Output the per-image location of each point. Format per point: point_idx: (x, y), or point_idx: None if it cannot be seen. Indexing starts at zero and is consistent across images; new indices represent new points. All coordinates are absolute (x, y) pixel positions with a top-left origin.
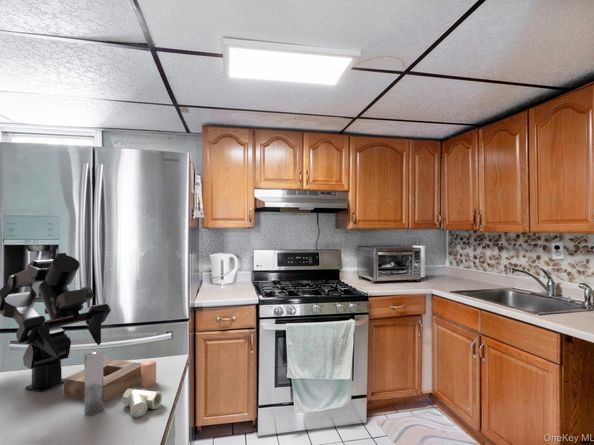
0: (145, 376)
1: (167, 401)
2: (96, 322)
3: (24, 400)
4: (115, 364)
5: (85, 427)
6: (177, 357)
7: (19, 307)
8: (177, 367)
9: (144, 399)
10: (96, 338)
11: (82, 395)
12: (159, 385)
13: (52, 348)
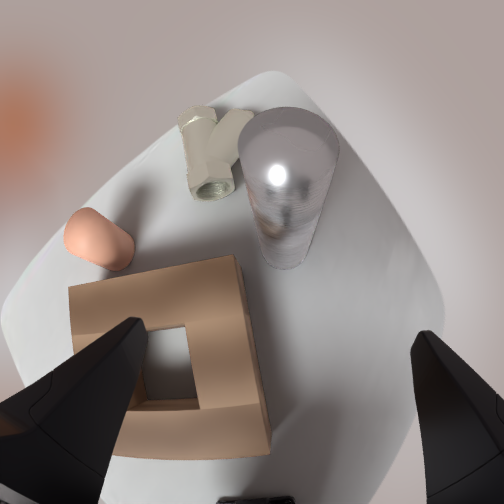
0: (117, 230)
1: (172, 135)
2: (22, 426)
3: (340, 488)
4: None
5: (336, 190)
6: (4, 320)
7: None
8: (35, 268)
9: (218, 122)
10: (125, 361)
11: (256, 357)
12: (114, 218)
13: (463, 360)
